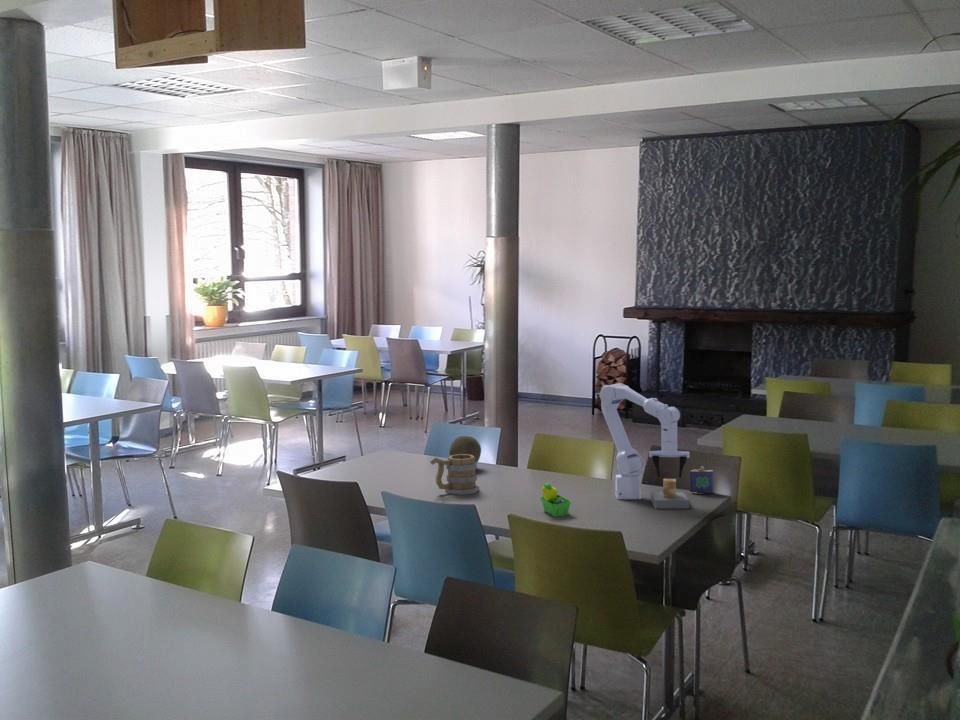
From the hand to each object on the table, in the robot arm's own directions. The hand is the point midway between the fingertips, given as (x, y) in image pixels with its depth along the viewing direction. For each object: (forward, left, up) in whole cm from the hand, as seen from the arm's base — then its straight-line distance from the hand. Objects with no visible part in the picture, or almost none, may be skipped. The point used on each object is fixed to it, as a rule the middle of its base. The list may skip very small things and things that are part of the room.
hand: (669, 476), depth 325 cm
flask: (+15, +16, -11) cm, 24 cm away
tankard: (-82, +22, -11) cm, 85 cm away
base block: (0, 0, -10) cm, 10 cm away
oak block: (0, 0, -7) cm, 7 cm away
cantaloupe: (-80, +63, -11) cm, 102 cm away
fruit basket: (-43, -11, -11) cm, 46 cm away
